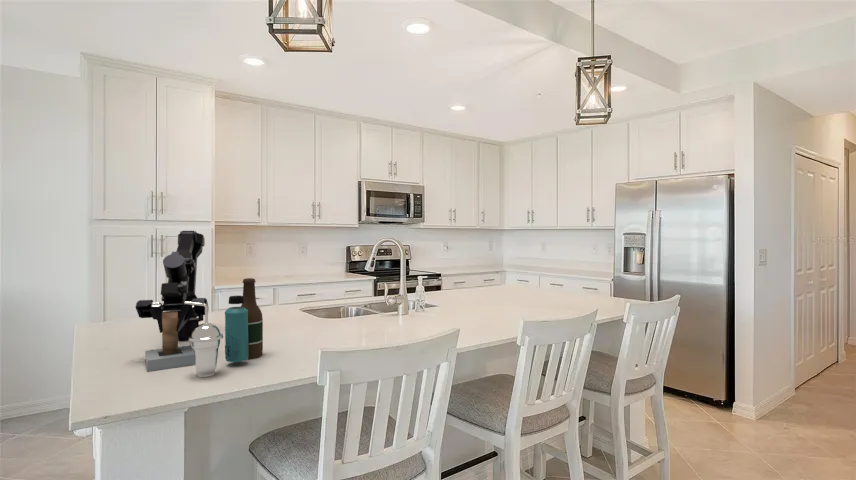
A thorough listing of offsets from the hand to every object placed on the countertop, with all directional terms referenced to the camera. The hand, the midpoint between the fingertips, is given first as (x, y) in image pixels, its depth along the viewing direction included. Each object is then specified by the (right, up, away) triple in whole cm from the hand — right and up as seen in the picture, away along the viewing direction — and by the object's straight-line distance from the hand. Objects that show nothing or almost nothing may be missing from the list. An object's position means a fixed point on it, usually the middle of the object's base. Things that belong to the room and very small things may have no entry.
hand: (169, 331), depth 134 cm
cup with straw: (+15, -10, -9) cm, 20 cm away
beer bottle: (+20, -10, +9) cm, 24 cm away
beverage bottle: (+19, -10, 0) cm, 22 cm away
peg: (0, -7, +2) cm, 7 cm away
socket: (0, -9, +2) cm, 9 cm away
